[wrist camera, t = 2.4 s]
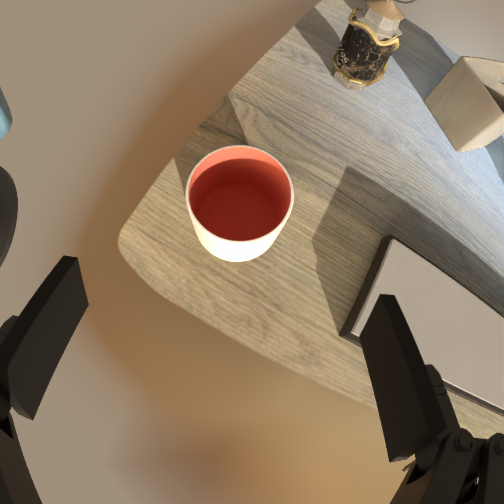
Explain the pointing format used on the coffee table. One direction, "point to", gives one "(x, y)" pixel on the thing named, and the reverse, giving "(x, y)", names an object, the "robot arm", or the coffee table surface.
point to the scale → (438, 322)
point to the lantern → (368, 44)
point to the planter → (470, 103)
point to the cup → (238, 201)
